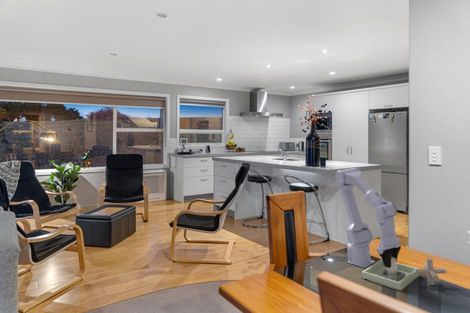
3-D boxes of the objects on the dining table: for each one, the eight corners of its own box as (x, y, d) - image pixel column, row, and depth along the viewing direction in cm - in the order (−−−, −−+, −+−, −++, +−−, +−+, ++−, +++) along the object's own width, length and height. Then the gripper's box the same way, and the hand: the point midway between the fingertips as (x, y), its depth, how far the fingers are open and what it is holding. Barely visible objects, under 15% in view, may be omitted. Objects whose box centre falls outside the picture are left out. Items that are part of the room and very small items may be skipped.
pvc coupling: (385, 273, 132) (383, 259, 132) (390, 270, 134) (388, 256, 134) (394, 276, 129) (393, 261, 128) (399, 272, 131) (398, 258, 131)
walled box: (362, 278, 135) (361, 271, 135) (382, 265, 145) (381, 258, 144) (400, 291, 122) (399, 283, 122) (420, 275, 132) (419, 268, 131)
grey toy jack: (452, 290, 119) (450, 263, 118) (422, 290, 121) (420, 264, 120) (440, 277, 128) (438, 253, 127) (413, 278, 130) (411, 254, 130)
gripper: (387, 240, 123) (391, 274, 124) (406, 229, 131) (409, 261, 133) (370, 236, 129) (373, 269, 130) (389, 226, 137) (392, 257, 138)
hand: (390, 265), depth 132 cm, fingers closed on pvc coupling, 4 cm apart
